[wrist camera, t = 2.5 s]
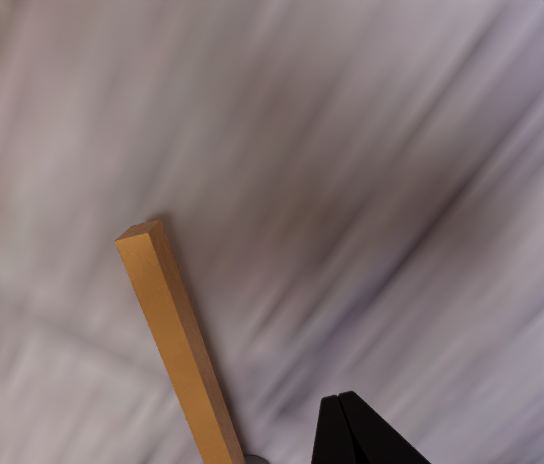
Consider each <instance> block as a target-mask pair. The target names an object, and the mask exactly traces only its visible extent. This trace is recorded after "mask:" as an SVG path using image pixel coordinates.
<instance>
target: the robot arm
mask: <svg viewBox="0 0 544 464" xmlns="http://www.w3.org/2000/svg"><path fill="white" fill-rule="evenodd" d="M311 464H431V463H430V462H429V461H428V460H427V459H426V458H425V457H424V456H422V455H421V454H420V453H419V452H418V451H417V450H416V449H415V448H414V447H413V446H412V445H411V444H410V443H409V442H408V441H406V440H405V439H404V438H403V437H402V436H401V435H400V434H399V433H398V432H397V431H396V430H395V429H394V428H393V427H391V426H390V425H389V424H388V423H387V422H386V421H385V420H384V419H383V418H382V417H381V416H380V415H379V414H378V413H377V412H375V411H374V410H373V409H372V408H371V407H370V406H369V405H368V404H367V403H366V402H365V401H364V400H363V399H362V398H360V397H359V396H358V395H357V394H356V393H355V392H354V391H348V392H344V393H340V394H339V395H338V396H337V395H332V396H328V397H324V398H322V400H321V404H320V410H319V417H318V423H317V429H316V435H315V442H314V448H313V454H312V461H311Z"/></svg>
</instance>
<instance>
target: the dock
mask: <svg viewBox="0 0 544 464" xmlns="http://www.w3.org/2000/svg"><path fill="white" fill-rule="evenodd" d="M244 459H245V462H246V464H269V463H268V462H267V461H266V460H264V459H262V458H260V457H257V456H252V455H245V456H244Z"/></svg>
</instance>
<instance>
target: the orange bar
mask: <svg viewBox="0 0 544 464" xmlns="http://www.w3.org/2000/svg"><path fill="white" fill-rule="evenodd" d="M115 243H116V245H117V248H118V250H119V253H120V255H121V257H122V260H123V262H124V265H125V267H126V270H127V272H128V275H129V277H130V280H131V282H132V285H133V287H134V290H135V292H136V295H137V297H138V300H139V302H140V305H141V307H142V310H143V312H144V315H145V317H146V320H147V322H148V325H149V327H150V330H151V332H152V335H153V337H154V340H155V342H156V345H157V347H158V350H159V352H160V355H161V357H162V360H163V362H164V365H165V367H166V370H167V372H168V374H169V377H170V379H171V382H172V384H173V387H174V389H175V392H176V394H177V397H178V399H179V402H180V404H181V407H182V409H183V412H184V414H185V417H186V419H187V422H188V424H189V427H190V429H191V432H192V434H193V437H194V439H195V442H196V444H197V447H198V449H199V452H200V454H201V457H202V459H203V462H204V464H246V462H245V459H244V456H243V453H242V450H241V447H240V445H239V442H238V439H237V436H236V433H235V430H234V427H233V424H232V422H231V419H230V416H229V413H228V410H227V407H226V404H225V402H224V399H223V396H222V393H221V390H220V387H219V384H218V382H217V379H216V376H215V373H214V370H213V367H212V364H211V361H210V359H209V356H208V353H207V350H206V347H205V344H204V341H203V339H202V336H201V333H200V330H199V327H198V324H197V321H196V319H195V316H194V313H193V310H192V307H191V304H190V301H189V298H188V296H187V293H186V290H185V287H184V284H183V281H182V278H181V276H180V273H179V270H178V267H177V264H176V261H175V258H174V256H173V253H172V250H171V247H170V244H169V241H168V238H167V235H166V233H165V230H164V227H163V224H162V221H161V219H159V220H155V221H151V222H147V223H142V224H138V225H134V226H131V227H130V228H129V229H128V230H127V231H126V232H125V233H123V234H122V235H121V236H120V237H119V238H118V239H117V240H115Z"/></svg>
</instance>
